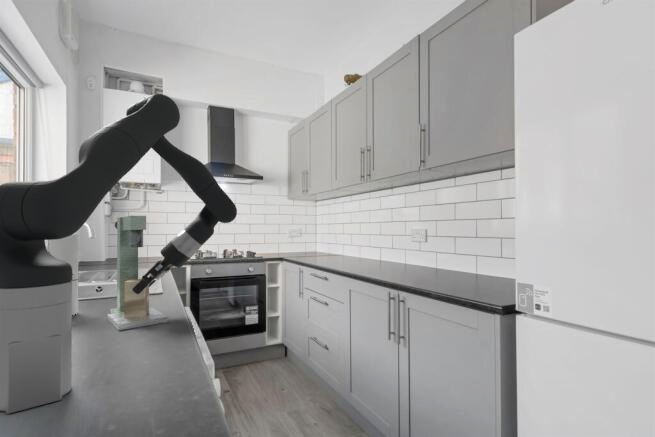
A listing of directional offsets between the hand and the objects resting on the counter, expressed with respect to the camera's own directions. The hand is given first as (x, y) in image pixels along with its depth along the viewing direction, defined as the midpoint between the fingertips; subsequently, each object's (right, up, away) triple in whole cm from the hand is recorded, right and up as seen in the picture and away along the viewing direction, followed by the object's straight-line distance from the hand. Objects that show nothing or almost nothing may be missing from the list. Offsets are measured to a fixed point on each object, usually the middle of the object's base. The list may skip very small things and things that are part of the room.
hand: (139, 289), depth 100 cm
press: (-6, -9, +6) cm, 12 cm away
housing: (0, -7, 0) cm, 7 cm away
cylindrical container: (-28, -10, +9) cm, 31 cm away
